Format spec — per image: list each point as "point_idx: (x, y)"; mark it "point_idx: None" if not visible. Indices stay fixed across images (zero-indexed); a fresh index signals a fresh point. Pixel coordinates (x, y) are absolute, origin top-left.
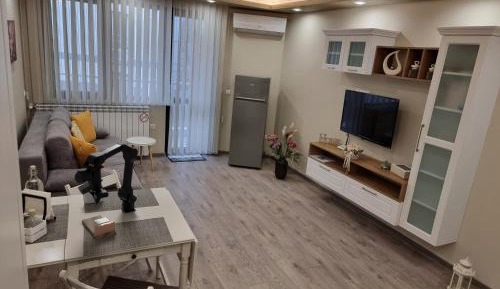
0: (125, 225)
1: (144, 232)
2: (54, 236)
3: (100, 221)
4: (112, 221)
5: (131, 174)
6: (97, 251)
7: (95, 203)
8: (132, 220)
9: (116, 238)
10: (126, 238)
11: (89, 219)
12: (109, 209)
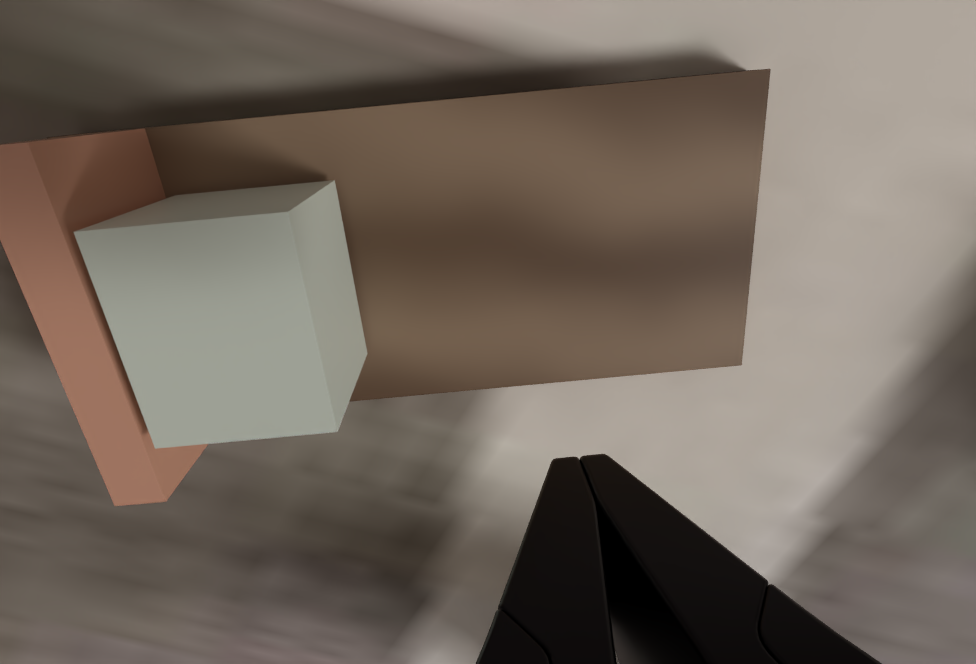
0: (347, 534)
1: (104, 637)
2: None
3: (186, 305)
4: (138, 479)
5: None
6: None
7: (580, 473)
8: (430, 618)
9: (48, 369)
10: (16, 463)
11: (708, 192)
12: (860, 498)
